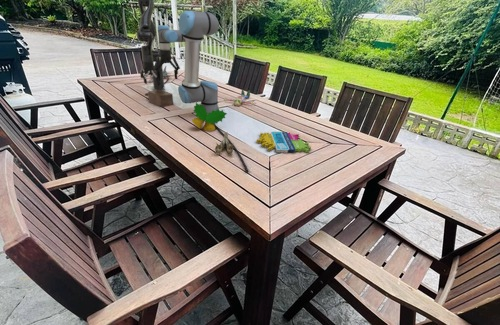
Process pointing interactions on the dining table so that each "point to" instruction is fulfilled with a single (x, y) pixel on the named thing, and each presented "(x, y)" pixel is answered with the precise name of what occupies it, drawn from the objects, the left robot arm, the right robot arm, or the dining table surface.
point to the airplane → (163, 75)
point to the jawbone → (224, 145)
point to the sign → (283, 142)
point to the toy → (241, 99)
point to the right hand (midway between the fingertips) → (167, 79)
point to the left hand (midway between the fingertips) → (150, 82)
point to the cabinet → (160, 98)
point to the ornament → (207, 117)
